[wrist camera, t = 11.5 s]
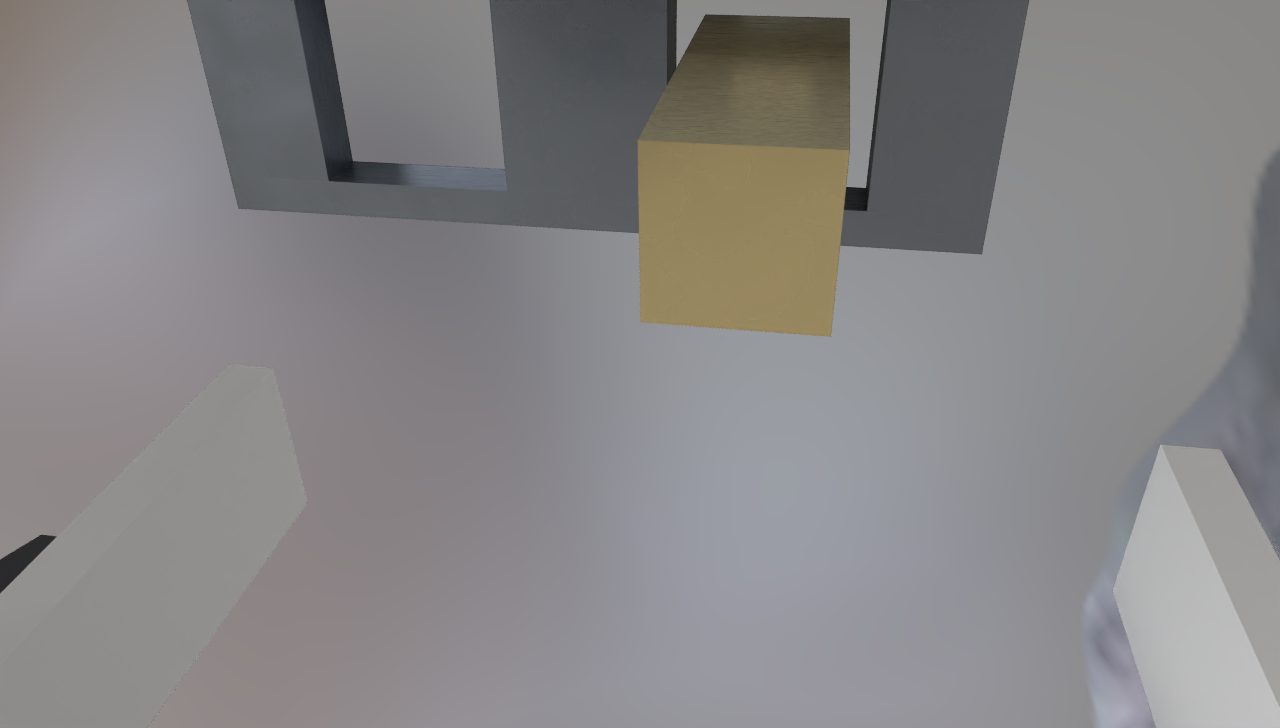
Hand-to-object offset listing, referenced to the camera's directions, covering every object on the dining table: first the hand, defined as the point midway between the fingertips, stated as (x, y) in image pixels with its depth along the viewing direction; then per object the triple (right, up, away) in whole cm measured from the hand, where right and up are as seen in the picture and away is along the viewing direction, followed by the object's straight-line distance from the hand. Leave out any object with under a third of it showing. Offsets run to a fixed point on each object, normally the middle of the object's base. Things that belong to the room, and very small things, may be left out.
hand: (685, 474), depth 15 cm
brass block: (+4, +11, +17) cm, 21 cm away
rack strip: (-2, +11, +18) cm, 21 cm away
